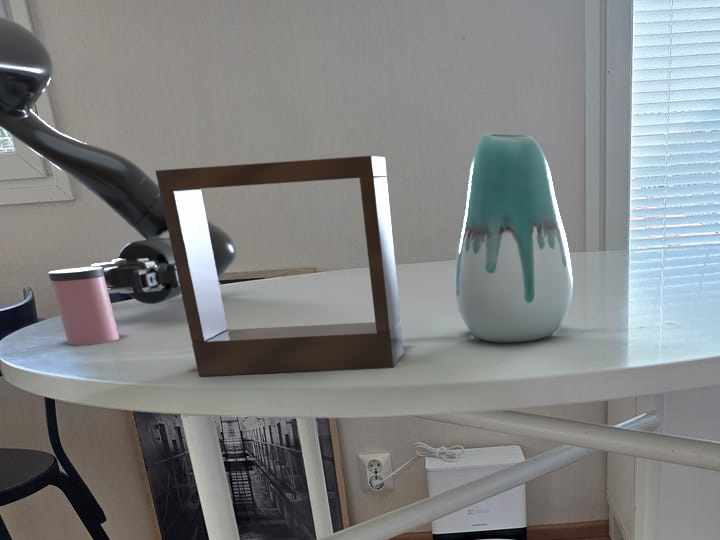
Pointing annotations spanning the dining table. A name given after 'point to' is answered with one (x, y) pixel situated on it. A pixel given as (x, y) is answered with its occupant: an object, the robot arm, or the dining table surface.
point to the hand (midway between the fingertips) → (102, 283)
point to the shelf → (281, 344)
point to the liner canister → (84, 305)
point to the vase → (511, 244)
